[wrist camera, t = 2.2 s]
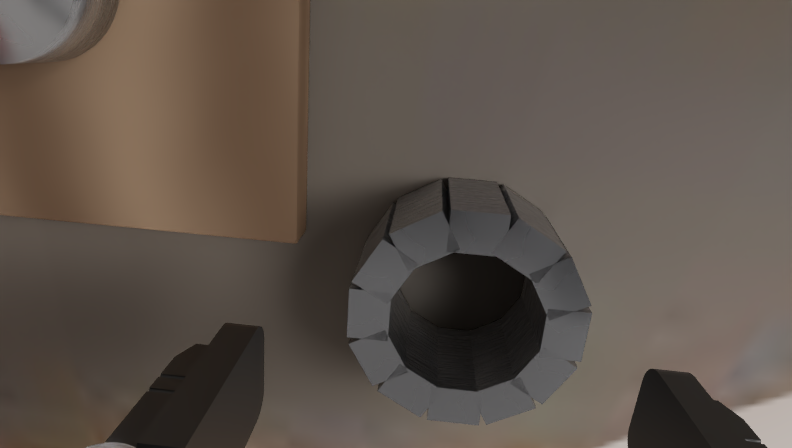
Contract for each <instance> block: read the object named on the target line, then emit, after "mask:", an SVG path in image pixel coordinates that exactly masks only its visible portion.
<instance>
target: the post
mask: <svg viewBox="0 0 792 448" xmlns="http://www.w3.org/2000/svg"><path fill="white" fill-rule="evenodd" d="M118 4H119V0H0V64H21V63H42V62H58V61H65V60H69V59H72V58H75V57H78V56H80V55H82V54H84V53H86V52H87V51H88V50H90V49H91V48H93V47H94V46H95V45H96V44H97V43H98V42H99V41H100V40H101V39H102V38H103V37H104V35H105V34H106V33H107V31H108V30H109V28H110V26H111V24H112V22H113V20H114V17H115V15H116V12H117V9H118Z"/></svg>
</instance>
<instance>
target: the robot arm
mask: <svg viewBox="0 0 792 448" xmlns="http://www.w3.org/2000/svg"><path fill="white" fill-rule="evenodd" d="M263 393H264V332H263V329H262V327H260V326H251V325H242V324H232V323H225V324H224V325H223V326H222V328H221V329H220V330H219V332H218V333H217V334H216V336H215V337H214V338H213V340H212V341H211V343H210V344H209V345H201V344H195V345H194V346H192V347H190V348H189V349H187V350H185V351H184V352H182V353H181V354H179V355H177V356H176V357H174V358H173V360H172V361H171V362H170V363H169V365H168V366H167V367H166V368H165V370H164V371H163V372H162V373H161V377H158V378H157V379H156V381H155V382H154V383H153V384H152V385H151V387H150V389H149V392H148V391H147V392H146V393H145V394H144V395H143V396H142V398H141V399H140V400H139V401H138V403H137V404H136V405H135V406H134V407H133V409H132V410H131V411H130V412H129V414H128V415H127V416H126V417H125V419H124V420H123V421H122V422H121V423H120V425H119V426H118V427H117V428H116V430H115V431H114V432H113V433H112V434H111V436H110V437H109V438H108V439H107V441H106V442H105V443H102V444H96V445H92V446H88V447H86V448H245V446H246V444H247V441H248V439H249V437H250V435H251V433H252V431H253V428H254V426H255V424H256V422H257V419H258V417H259V414H260V410H261V406H262V401H263ZM628 448H767V447H766V446H765V445H764V444H761V440H760V439H759V437H758V436H757V435H756V434H755V433H754V431H753V430H752V429H751V428H750V427H749V426H748V424H747V423H746V422H745V421H744V420H743V419H742V418H741V417H739V416H738V415H737V414H735V413H734V412H733V411H731V410H730V409H728V408H727V407H726V406H724V405H723V404H722V403H720V402H719V401H715V400H713V399H712V398H711V397H710V395H709V394H708V393H707V392H706V390H705V389H704V388H703V387H702V386H701V384H700V383H699V382H698V381H697V379H696V378H695V377H694V376H693V375H692V374H690V373H687V372H678V371H668V370H659V369H649V370H648V371H647V372H646V373H645V375H644V378H643V381H642V384H641V388H640V391H639V395H638V398H637V402H636V405H635V409H634V413H633V416H632V420H631V423H630V427H629V431H628Z"/></svg>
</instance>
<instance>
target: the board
mask: <svg viewBox="0 0 792 448" xmlns="http://www.w3.org/2000/svg"><path fill="white" fill-rule="evenodd" d="M309 33H310V0H119V4H118V9H117V12H116V15H115V17H114V20H113V22H112V24H111V26H110V28H109V30H108V31H107V33H106V34H105V35H104V37H103V38H102V39H101V40H100V41H99V42H98V43H97V44H96V45H95V46H94V47H93V48H91V49H90V50H88V51H87V52H86V53H84V54H82V55H80V56H78V57H75V58H72V59H69V60H65V61H58V62H42V63H21V64H0V215H6V216H16V217H27V218H37V219H47V220H58V221H68V222H78V223H89V224H99V225H109V226H120V227H130V228H140V229H151V230H161V231H171V232H182V233H192V234H202V235H212V236H223V237H233V238H243V239H254V240H264V241H274V242H285V243H295V244H297V242H298V241H299V239H300V238H301V237H302V235H303V234H304V232H305V231H306V210H307V151H308V92H309Z"/></svg>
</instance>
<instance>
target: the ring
mask: <svg viewBox="0 0 792 448" xmlns="http://www.w3.org/2000/svg"><path fill="white" fill-rule="evenodd" d="M451 253H464V254H474V255H484V256H495V257H498V258H500V259H501V260H503V261H504V262H506V263H507V264H509V265H510V266H512V267H513V268H514V269H516V270H517V271H519V272H520V273H522V274H523V275H525V278H524V284H523V290H522V295H521V297H520V298H519V299H518V300H517V301H516V302H515V304H514V305H513V306H512V307H511V308H510V309H509V310H508V312H507V313H506V314H505V315H504V316H503V317H502V318H501V319H500V320H498V321H495V322H492V323H490V324H487V325H484V326H482V327H479V328H476V329H474V330H471V331H467V330H457V329H448V328H438V327H436V326H435V325H433V324H432V323H430V322H428V321H427V320H425V319H424V318H422V317H421V316H419V315H418V314H416V313H415V312H413V311H411V309H410V307H409V305H408V303H407V301H406V300H405V298H404V296H403V294H402V292H401V290H400V287H401V286H402V284H403V283H404V282H405V280H406V279H407V278H408V277H409V275H410V274H411V273H412V271H413V270H414V269H415V268H417V267H420V266H422V265H425V264H427V263H430V262H432V261H434V260H437V259H439V258H442V257H444V256H447V255H449V254H451ZM589 306H591V303H590V301H589V299H588V296H587V294H586V291H585V289H584V286H583V284H582V281H581V279H580V277H579V274H578V272H577V269H576V267H575V264H574V262H573V259H572V257H571V255H570V254H569V252H568V251H567V249H566V248H565V246H564V244H563V243H562V241H561V240H560V238H559V236H558V235H557V233H556V232H555V230H554V228H553V227H552V225H551V224H550V222H549V220H548V219H547V217H545V216H544V214H543V212H542V211H541V210H539V209H538V208H537V207H535V206H534V205H532V204H531V203H529V202H528V201H527V200H525V199H524V198H522V197H521V196H519V195H518V194H517V193H515V192H514V191H512V190H511V189H510V188H508V187H507V186H505V185H504V184H503V186H502V187H501V188H499V186H498V183H497V182H492V181H481V180H470V179H459V178H448V187H447V190H446V188H445V185H444V183H443V181H442V179H440V180H438V181H435V182H433V183H431V184H429V185H426V186H424V187H422V188H420V189H417V190H415V191H413V192H411V193H408V194H406V195H404V196H402V197H399V198H398V201H397V205H396V204H395V203H392V204H391V206H390V207H389V208H388V210H387V211H386V213H385V214H384V215H383V217H382V218H381V220H380V221H379V222H378V224H377V225H376V227H375V228H374V229H373V231H372V232H371V234H370V235H369V236H368V238H367V240H366V243H365V246H364V249H363V252H362V254H361V257H360V260H359V263H358V265H357V268H356V271H355V274H354V276H353V279H352V282H351V285H350V288H349V301H348V322H347V337H350V341H349V346H350V347H351V349H352V351H353V353H354V354H355V356H356V358H357V360H358V361H359V363H360V365H361V367H362V368H363V370H364V372H365V374H366V375H367V377H368V379H369V381H370V382H371V384H372V386H373V385H376V384H379V385H378V392H380V393H382V394H383V395H385V396H387V397H388V398H390V399H391V400H393V401H395V402H396V403H398V404H399V405H401V406H403V407H404V408H406V409H408V410H409V411H411V412H412V413H414V414H416V415H417V416H419V417H421V416H422V414H423V413H424V412H425V411H426V410H427V409H428V411H427V420H435V421H444V422H453V423H462V424H471V425H479V420H480V414H481V415H482V417H483V419H484V421H485V423H486V425H487V424H490V423H493V422H496V421H499V420H502V419H505V418H508V417H511V416H514V415H517V414H520V413H523V412H526V411H529V410H532V409H535V404H534V400H533V399H535V400H536V401H538V402H539V403H541V404H543V403H544V402H545V401H546V400H547V399H548V398H549V397H550V396H551V395H552V394H553V393H554V392H555V391H556V390H557V389H558V388H559V387H560V386H561V385H562V383H563V382H564V381H565V380H566V379H567V378H568V377H569V376H570V375H571V374H572V373H573V372H574V371H575V370H576V369H577V366H576V364H575V361H579V362H581V360H582V356H583V351H584V347H585V342H586V338H587V333H588V329H589V324H590V320H591V315H592V312H591V310H590V309H589Z"/></svg>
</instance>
